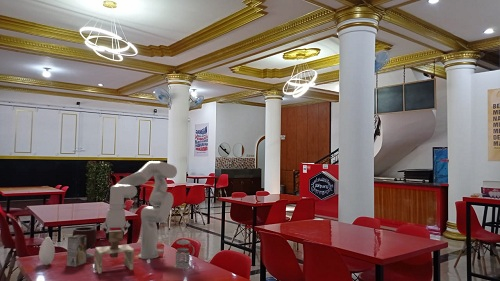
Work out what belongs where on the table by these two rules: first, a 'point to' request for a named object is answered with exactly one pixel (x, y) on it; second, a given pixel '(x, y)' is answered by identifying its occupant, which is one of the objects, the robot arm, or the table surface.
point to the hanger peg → (115, 241)
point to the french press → (183, 254)
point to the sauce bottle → (47, 251)
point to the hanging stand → (106, 250)
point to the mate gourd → (90, 237)
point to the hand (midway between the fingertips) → (114, 239)
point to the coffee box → (76, 250)
